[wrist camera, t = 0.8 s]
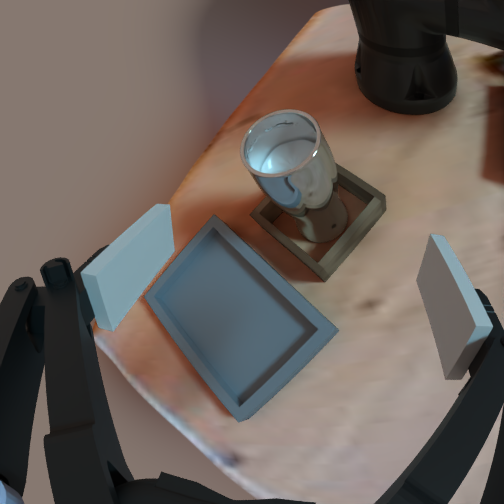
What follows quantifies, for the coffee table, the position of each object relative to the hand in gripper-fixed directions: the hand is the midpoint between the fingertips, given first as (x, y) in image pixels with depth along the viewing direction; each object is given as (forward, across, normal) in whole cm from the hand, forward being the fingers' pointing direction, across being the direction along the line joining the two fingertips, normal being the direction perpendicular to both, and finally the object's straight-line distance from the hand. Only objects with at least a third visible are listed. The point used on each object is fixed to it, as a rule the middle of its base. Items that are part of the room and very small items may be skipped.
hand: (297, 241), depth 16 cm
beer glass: (+21, +2, -8) cm, 22 cm away
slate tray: (+14, -7, -18) cm, 23 cm away
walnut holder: (+21, +2, -8) cm, 22 cm away
